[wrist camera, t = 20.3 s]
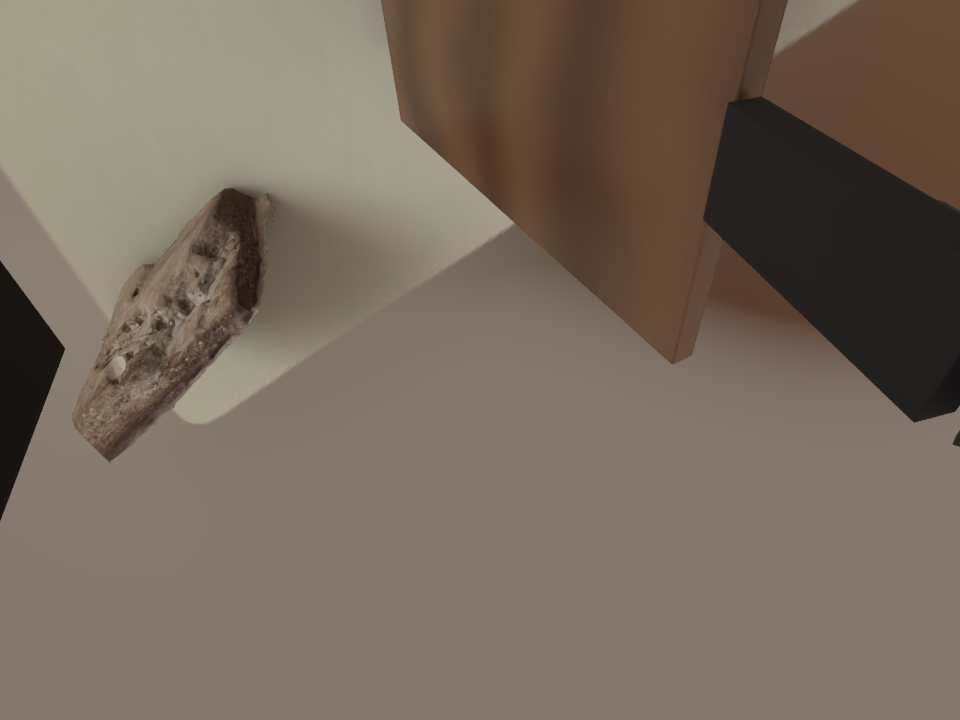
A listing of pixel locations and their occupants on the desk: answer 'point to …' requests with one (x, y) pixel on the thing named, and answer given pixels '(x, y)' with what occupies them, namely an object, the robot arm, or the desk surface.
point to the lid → (591, 130)
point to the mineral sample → (175, 321)
